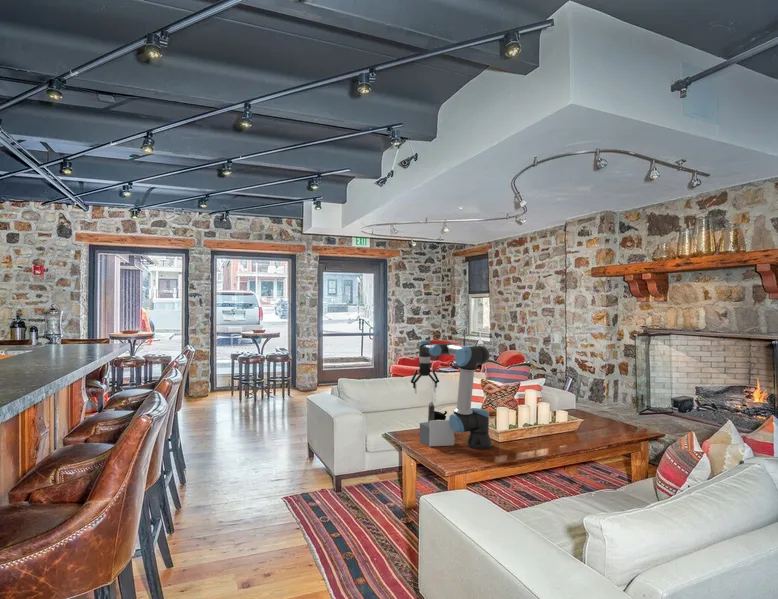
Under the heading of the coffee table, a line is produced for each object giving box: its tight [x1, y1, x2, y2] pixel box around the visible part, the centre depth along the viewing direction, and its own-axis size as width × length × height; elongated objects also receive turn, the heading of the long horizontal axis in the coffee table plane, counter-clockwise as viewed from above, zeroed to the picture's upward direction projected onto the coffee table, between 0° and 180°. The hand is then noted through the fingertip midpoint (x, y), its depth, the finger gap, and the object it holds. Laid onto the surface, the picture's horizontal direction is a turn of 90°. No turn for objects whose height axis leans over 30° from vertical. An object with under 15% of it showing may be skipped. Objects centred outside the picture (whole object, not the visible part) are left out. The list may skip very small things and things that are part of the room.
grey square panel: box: [428, 419, 455, 447], centre depth 295 cm, size 16×1×16 cm, turn 100°
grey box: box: [419, 421, 431, 448], centre depth 303 cm, size 12×18×13 cm
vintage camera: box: [427, 401, 448, 422], centre depth 328 cm, size 10×16×20 cm, turn 89°
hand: (425, 392), depth 328 cm, fingers open, 13 cm apart
